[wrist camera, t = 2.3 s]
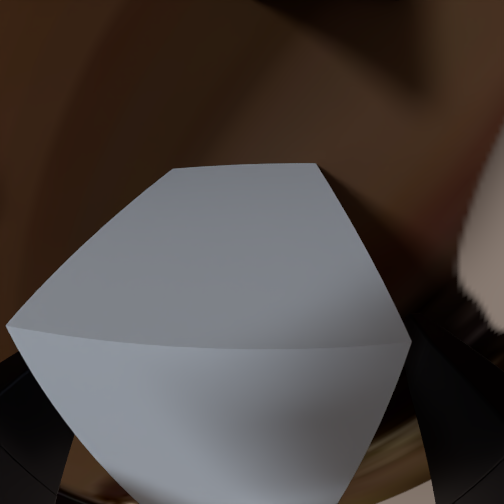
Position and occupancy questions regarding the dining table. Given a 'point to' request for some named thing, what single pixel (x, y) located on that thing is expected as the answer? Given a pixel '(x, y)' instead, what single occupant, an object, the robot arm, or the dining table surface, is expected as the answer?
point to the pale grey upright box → (221, 340)
